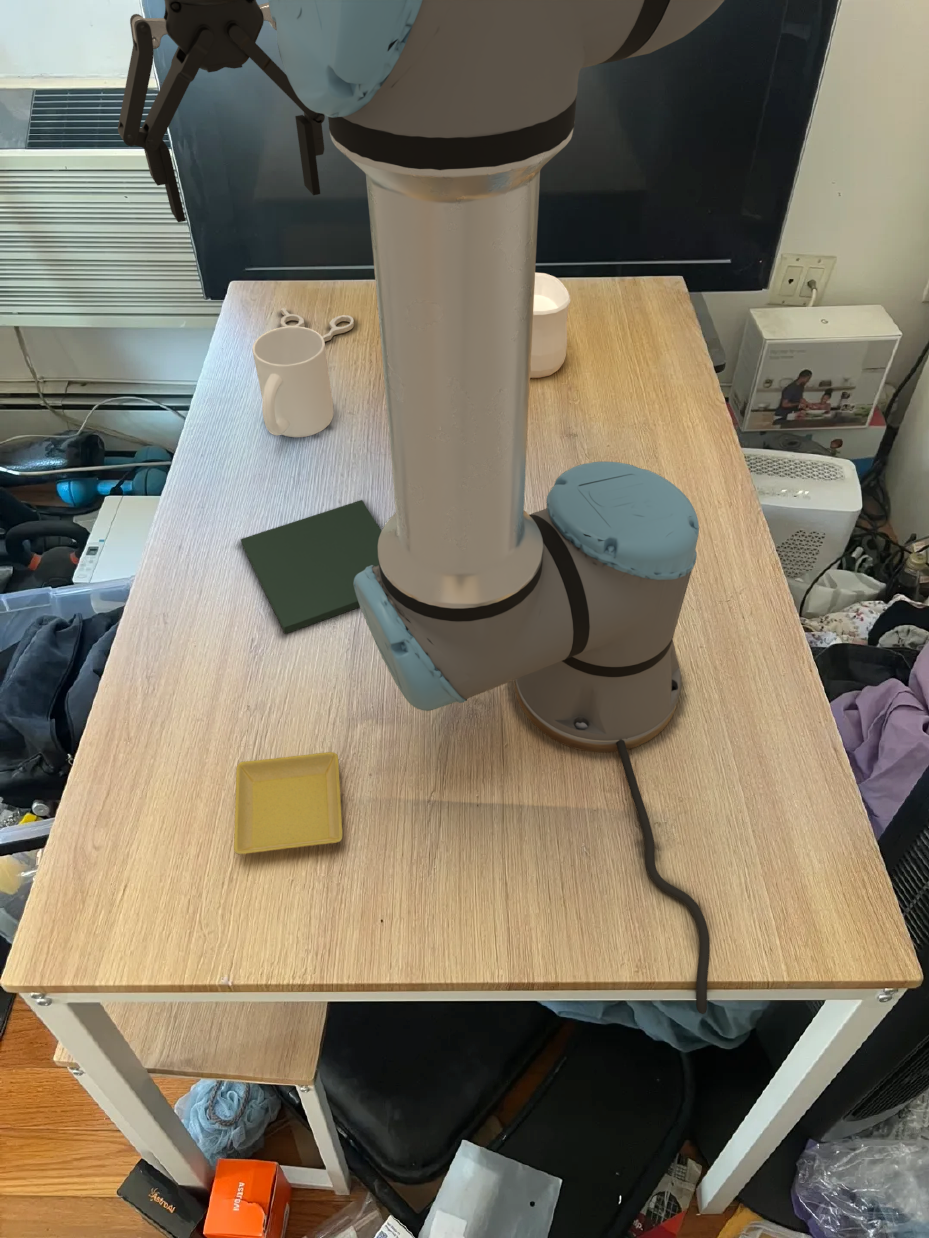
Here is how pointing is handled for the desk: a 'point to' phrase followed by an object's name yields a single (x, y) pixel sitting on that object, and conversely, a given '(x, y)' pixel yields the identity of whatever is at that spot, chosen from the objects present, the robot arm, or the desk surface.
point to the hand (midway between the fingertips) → (247, 203)
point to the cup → (548, 325)
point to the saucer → (287, 803)
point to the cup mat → (314, 563)
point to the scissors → (332, 324)
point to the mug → (293, 381)
